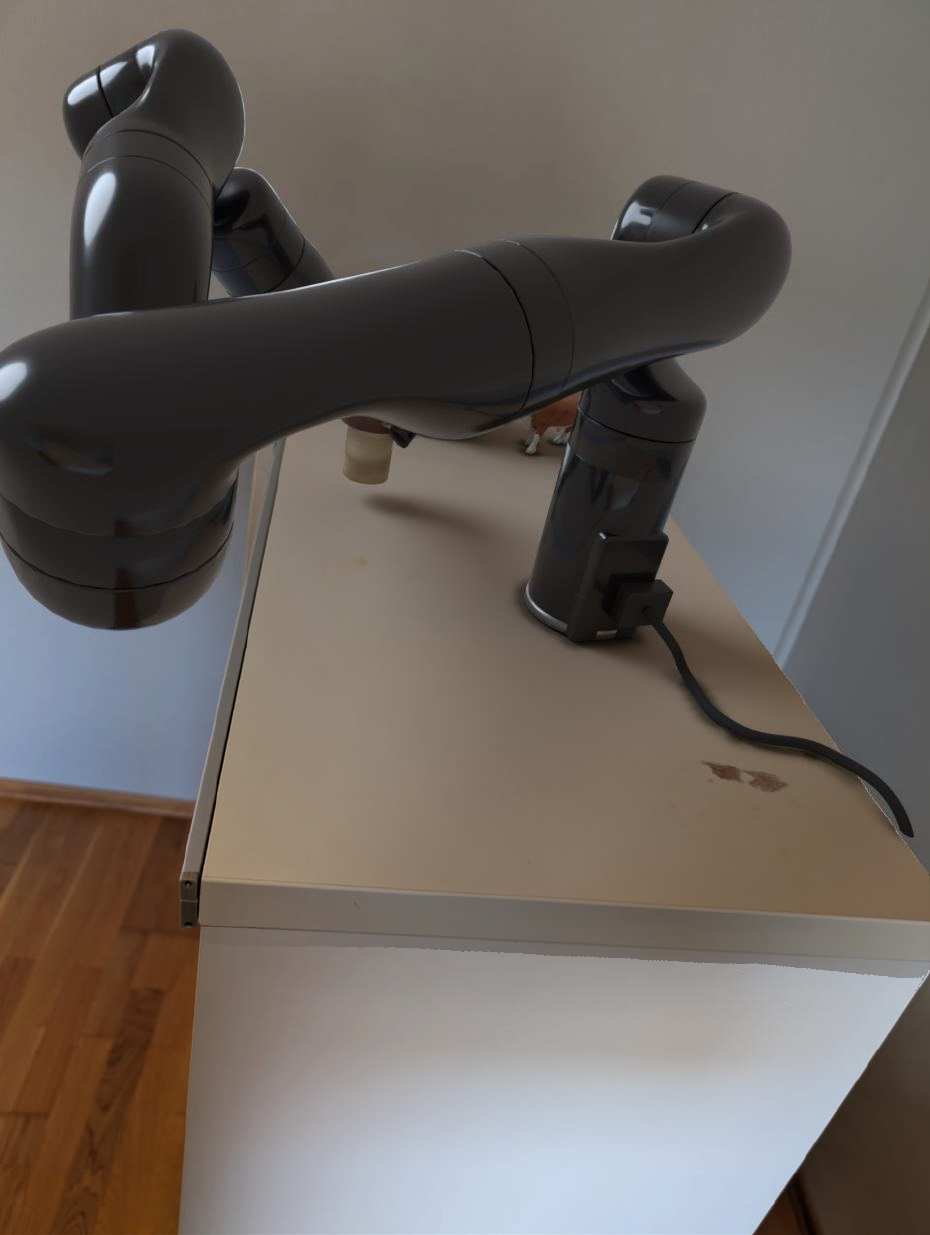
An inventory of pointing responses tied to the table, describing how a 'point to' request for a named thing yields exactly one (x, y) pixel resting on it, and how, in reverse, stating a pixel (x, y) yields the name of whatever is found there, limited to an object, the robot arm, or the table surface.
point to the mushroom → (366, 451)
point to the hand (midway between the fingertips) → (385, 425)
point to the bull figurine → (551, 421)
